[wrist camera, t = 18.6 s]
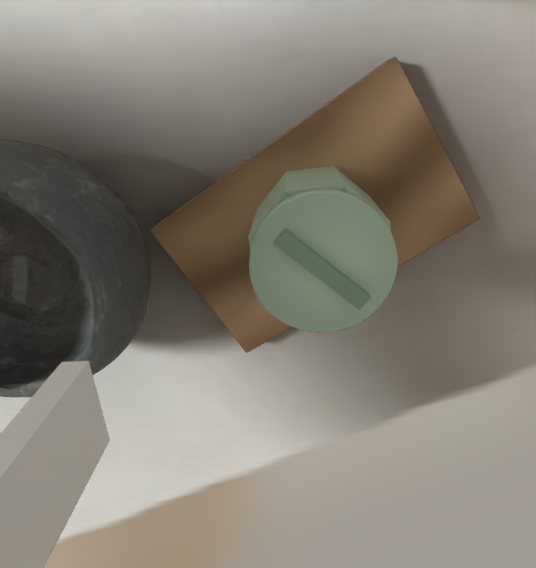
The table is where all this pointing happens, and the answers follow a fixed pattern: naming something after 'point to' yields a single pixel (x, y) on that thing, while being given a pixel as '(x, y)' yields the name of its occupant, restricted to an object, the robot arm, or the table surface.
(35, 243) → the bowl
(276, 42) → the table surface
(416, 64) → the table surface
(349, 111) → the stud block
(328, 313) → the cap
